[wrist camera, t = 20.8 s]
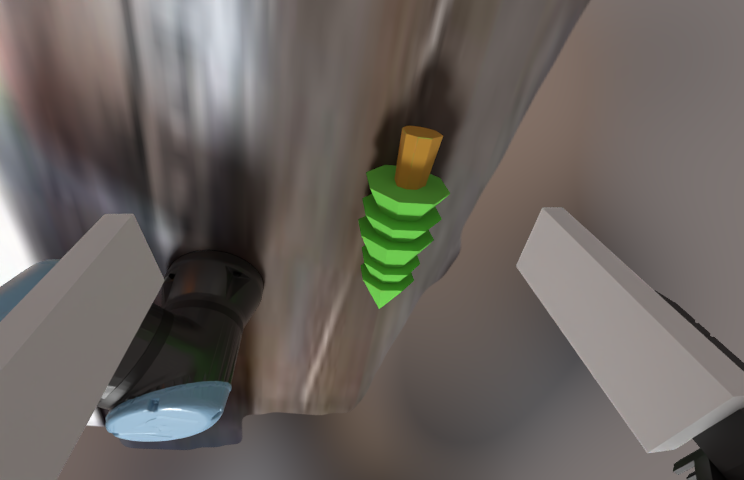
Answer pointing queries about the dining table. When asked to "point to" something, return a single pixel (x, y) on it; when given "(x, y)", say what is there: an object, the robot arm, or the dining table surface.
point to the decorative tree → (400, 214)
